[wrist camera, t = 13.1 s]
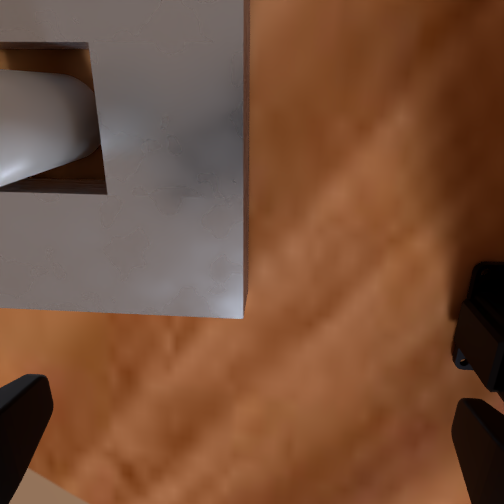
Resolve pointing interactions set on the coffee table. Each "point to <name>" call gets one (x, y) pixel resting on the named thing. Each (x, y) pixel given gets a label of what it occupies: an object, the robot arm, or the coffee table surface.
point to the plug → (44, 122)
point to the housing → (140, 164)
